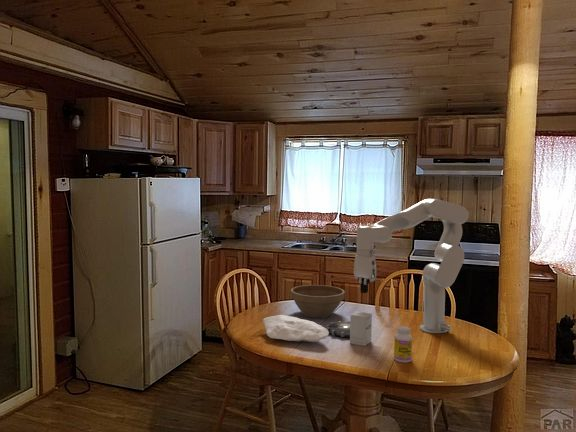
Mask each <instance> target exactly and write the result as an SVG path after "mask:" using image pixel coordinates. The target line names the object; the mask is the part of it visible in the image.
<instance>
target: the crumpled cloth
mask: <svg viewBox="0 0 576 432" xmlns="http://www.w3.org/2000/svg"><path fill="white" fill-rule="evenodd" d="M262 322H263V325H264V327H265V331H266V335H267V336H268V337H269V338H270V339H276V340H284V341H287V342H288V341H289V342H292V341H294V342H309V343H310V342H312V343H315V342H316V343H319V342H320V341H322V340H326V338H328V337H329V334H330V333H329V331H328V330H327V327H324V326H323V325H320V324H318V323H316V322H314V321H311V320H308V319H302V318H299V317H295V316H290V315H287V314H285V315H284V314H278V315H273V316H268V317H265V318H263V319H262Z"/></svg>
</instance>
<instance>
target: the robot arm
mask: <svg viewBox="0 0 576 432" xmlns="http://www.w3.org/2000/svg"><path fill="white" fill-rule="evenodd" d="M469 214H470V213H469V211H468V210H467V208H466V207H464V206H463V205H459V204H456V203H452V202H449V201H446V200H443V199H439V198H426V199H423V200H421V201H419V202H418V203H415V204H414V205H412V206H410V207H408V208H406V209H404V210H402V211H399V212H397V213H395V214H392V215H390V216H388V217H385V218H383V219H381V220H379V221H377V222H376V223H373V224H372V226H370V225H360V226H358V227H357V228H356V229H357V230H356V255H355V257H354V263H353V275H354V277H353V278H354V279H356V280H357V281H358V283H359V285H360V293H361V294H367V293H368V292H369V285H370V284H371V282H375V281H376V280H375V278H376V277H377V261H376V257H375V254H376V252H375V251H374V242H377V243H384V244H385V243H387V242H389V241H390V240H392V238H393V232H396V231H398V230H406V229H407V230H408V229H410V228H411V229H412V228H414V227H416V226H417V225H419V224H420V223H423V222H424V221H426V220H428V219H429V218H435V219H439V220H441V221H442V224H443V232H442V234H441V236H440V239H439V242H437V243H438V244H437V246H436V247H435V249H434V253H433V254H434V258H435V259H436V260H437V261H438V262H440V264H439V263H435V262H431V263H429V264H426V265H425V266H424V268H423V271H422V280H423V281H422V282H423V317H422V318H423V321H422V322H423V323H422V324H420V325H419V329H420V331H422V332H425V333H429V334H445V333H447V332H448V331H450V332H451V331H452V325H449V324H447V321H446V320H445V311H446V309H445V308H446V307H445V306H446V304H445V303H446V290H445V289H446V288H449V287H451V286H452V285H453V284H454V283H455V281H456V279H457V277H458V274H459V273H460V271H461V268H462V266H463V263H464V261H465V252H464V249H463V248H462V247H461V246H459V244H460V241H461V239H462V236H463V226H462V225H463V224H465V223H466V222H467V221H468V219H469Z"/></svg>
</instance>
